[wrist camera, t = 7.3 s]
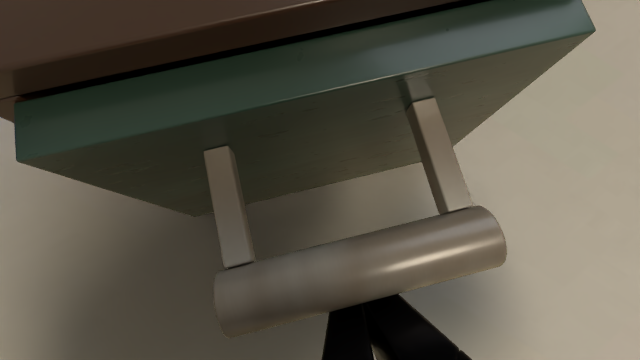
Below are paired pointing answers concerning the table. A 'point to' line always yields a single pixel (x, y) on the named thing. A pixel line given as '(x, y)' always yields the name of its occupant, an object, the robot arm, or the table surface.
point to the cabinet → (150, 35)
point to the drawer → (312, 143)
